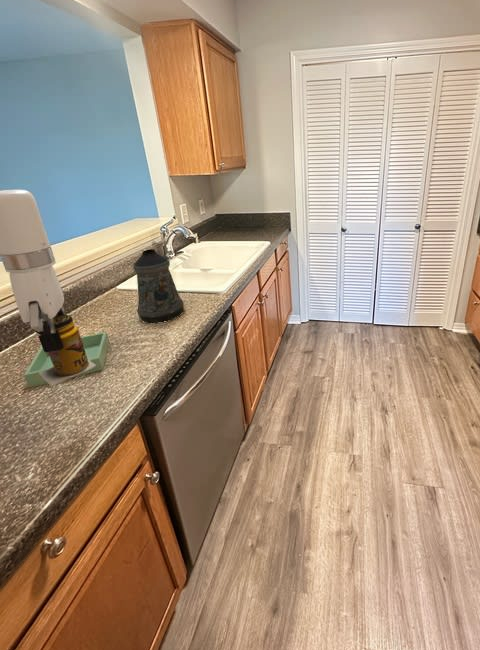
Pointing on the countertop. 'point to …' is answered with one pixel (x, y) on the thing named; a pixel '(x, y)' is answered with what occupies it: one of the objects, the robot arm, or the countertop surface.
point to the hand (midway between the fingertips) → (58, 341)
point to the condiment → (66, 353)
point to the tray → (94, 350)
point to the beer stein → (156, 289)
